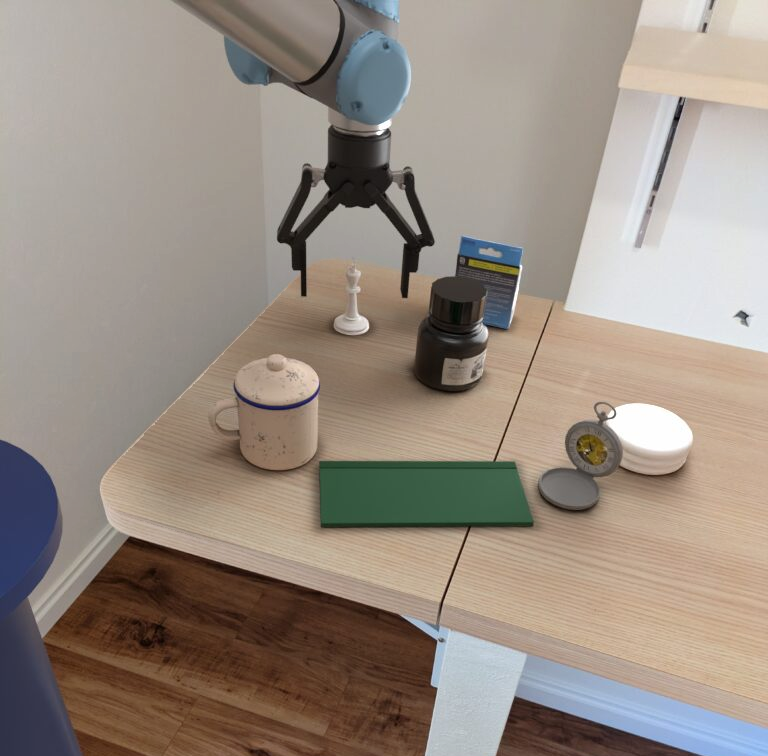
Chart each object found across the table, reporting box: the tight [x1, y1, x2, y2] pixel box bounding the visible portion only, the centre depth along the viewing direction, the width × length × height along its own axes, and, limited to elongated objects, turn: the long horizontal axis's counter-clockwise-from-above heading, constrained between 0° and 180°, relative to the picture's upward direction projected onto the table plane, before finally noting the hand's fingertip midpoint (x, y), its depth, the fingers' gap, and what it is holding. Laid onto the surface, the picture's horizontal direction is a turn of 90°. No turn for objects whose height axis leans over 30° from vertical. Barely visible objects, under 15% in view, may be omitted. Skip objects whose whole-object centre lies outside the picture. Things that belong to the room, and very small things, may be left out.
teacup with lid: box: [208, 353, 321, 471], centre depth 86 cm, size 12×9×12 cm
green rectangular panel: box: [318, 460, 535, 528], centre depth 85 cm, size 22×10×1 cm, turn 94°
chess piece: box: [333, 257, 370, 336], centre depth 108 cm, size 5×5×10 cm
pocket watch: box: [538, 401, 623, 511], centre depth 85 cm, size 8×8×10 cm
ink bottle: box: [413, 275, 490, 392], centre depth 100 cm, size 10×9×12 cm
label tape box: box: [454, 234, 524, 330], centre depth 111 cm, size 9×4×12 cm, turn 72°
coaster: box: [603, 403, 694, 476], centre depth 93 cm, size 10×10×4 cm
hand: (354, 293), depth 108 cm, fingers open, 13 cm apart
